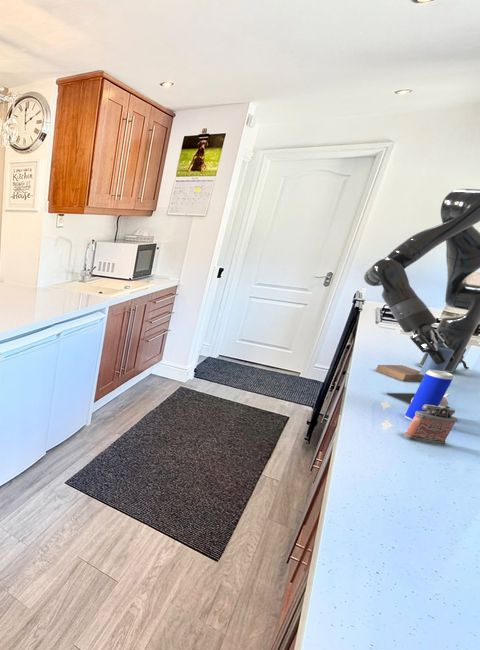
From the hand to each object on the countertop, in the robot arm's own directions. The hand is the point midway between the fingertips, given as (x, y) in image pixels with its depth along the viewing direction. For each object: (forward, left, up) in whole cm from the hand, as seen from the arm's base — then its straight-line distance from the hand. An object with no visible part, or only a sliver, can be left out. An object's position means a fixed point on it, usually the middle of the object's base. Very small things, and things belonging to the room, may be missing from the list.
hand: (445, 362), depth 123 cm
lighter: (+27, +22, -14) cm, 37 cm away
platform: (-18, -23, -14) cm, 33 cm away
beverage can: (+16, +11, -14) cm, 24 cm away
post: (+1, -2, -5) cm, 5 cm away
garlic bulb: (+9, +7, -14) cm, 18 cm away
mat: (+1, -2, -14) cm, 14 cm away
